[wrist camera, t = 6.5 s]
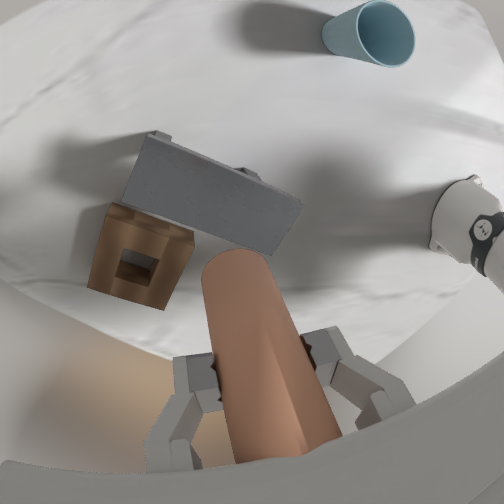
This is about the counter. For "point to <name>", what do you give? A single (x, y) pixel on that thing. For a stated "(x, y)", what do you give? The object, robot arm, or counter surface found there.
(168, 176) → the grey u-shaped bracket
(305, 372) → the peg
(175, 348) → the counter surface
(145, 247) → the socket
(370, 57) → the cup
